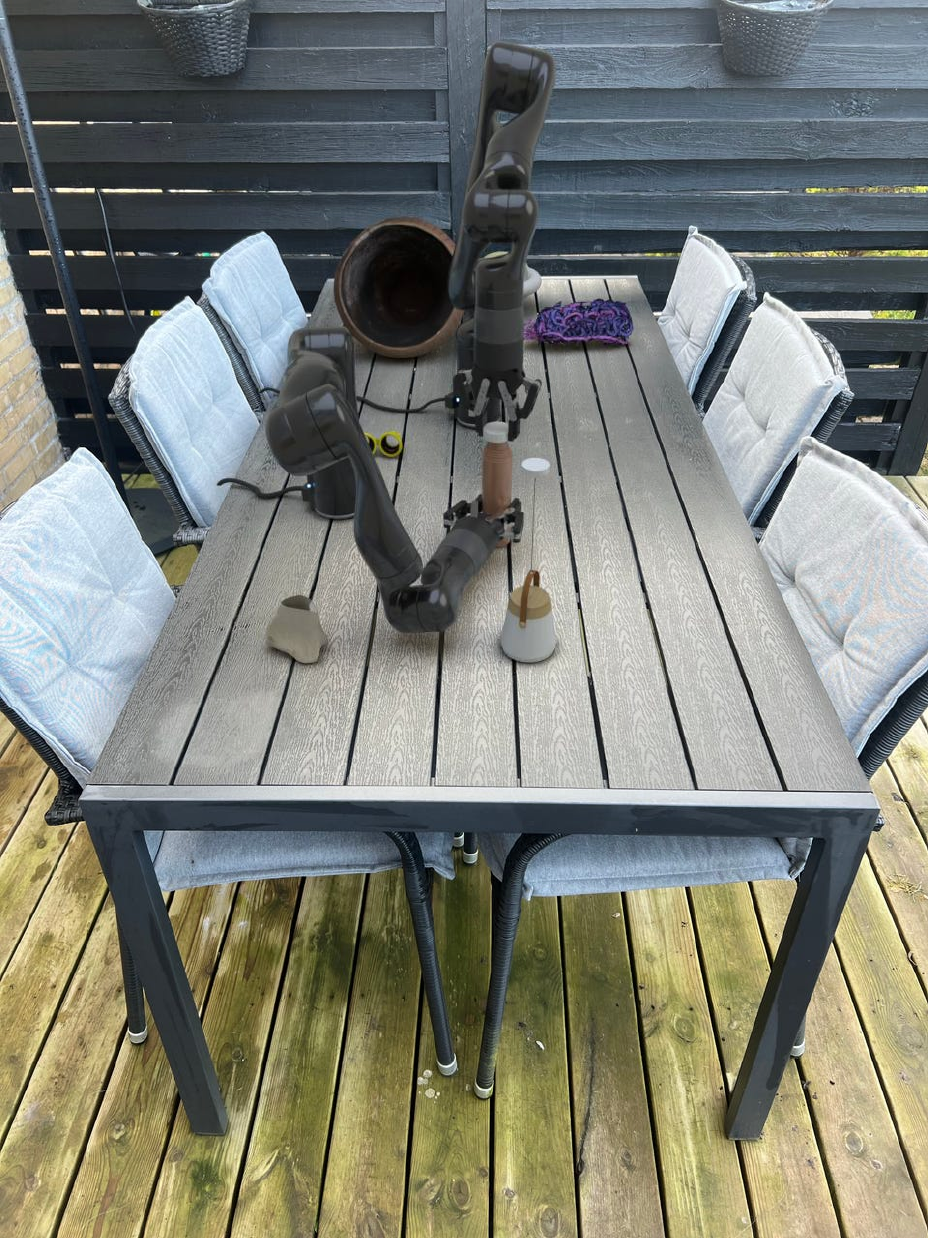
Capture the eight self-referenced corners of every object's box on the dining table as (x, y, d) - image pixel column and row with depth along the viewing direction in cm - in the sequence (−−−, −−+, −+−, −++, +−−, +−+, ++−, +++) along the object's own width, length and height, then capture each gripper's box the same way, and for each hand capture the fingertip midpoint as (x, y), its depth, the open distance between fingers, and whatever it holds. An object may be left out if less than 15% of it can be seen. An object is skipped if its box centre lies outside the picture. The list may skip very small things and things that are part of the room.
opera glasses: (402, 450, 189) (400, 426, 187) (403, 457, 184) (401, 432, 182) (354, 452, 188) (352, 428, 186) (354, 460, 184) (352, 435, 182)
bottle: (509, 531, 163) (512, 425, 151) (511, 547, 159) (513, 439, 147) (481, 532, 163) (481, 425, 151) (482, 547, 159) (482, 439, 147)
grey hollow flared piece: (327, 654, 140) (334, 590, 137) (317, 670, 132) (324, 604, 130) (268, 645, 140) (274, 582, 137) (255, 661, 132) (261, 594, 130)
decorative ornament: (640, 324, 222) (516, 326, 219) (631, 360, 231) (512, 363, 228) (629, 291, 230) (509, 293, 227) (621, 327, 238) (506, 329, 236)
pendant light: (546, 668, 133) (557, 484, 115) (492, 656, 136) (495, 473, 117) (562, 635, 139) (574, 455, 121) (510, 624, 142) (515, 445, 123)
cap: (513, 430, 151) (513, 421, 150) (511, 443, 147) (511, 434, 146) (484, 429, 151) (484, 420, 150) (481, 442, 147) (481, 433, 147)
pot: (369, 208, 238) (367, 184, 209) (481, 265, 243) (494, 249, 214) (320, 328, 244) (311, 320, 215) (430, 381, 249) (435, 380, 220)
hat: (455, 295, 261) (454, 240, 252) (532, 292, 263) (534, 237, 254) (465, 327, 242) (464, 268, 233) (548, 323, 244) (550, 264, 235)
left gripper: (507, 539, 142) (542, 487, 155) (422, 521, 146) (462, 472, 159) (506, 579, 147) (540, 526, 159) (424, 560, 151) (463, 510, 164)
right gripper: (551, 329, 139) (546, 434, 150) (463, 318, 144) (464, 420, 154) (536, 347, 134) (532, 454, 144) (445, 335, 138) (447, 440, 148)
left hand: (501, 499), depth 159 cm, fingers closed on bottle, 5 cm apart
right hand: (497, 436), depth 149 cm, fingers closed on cap, 4 cm apart
